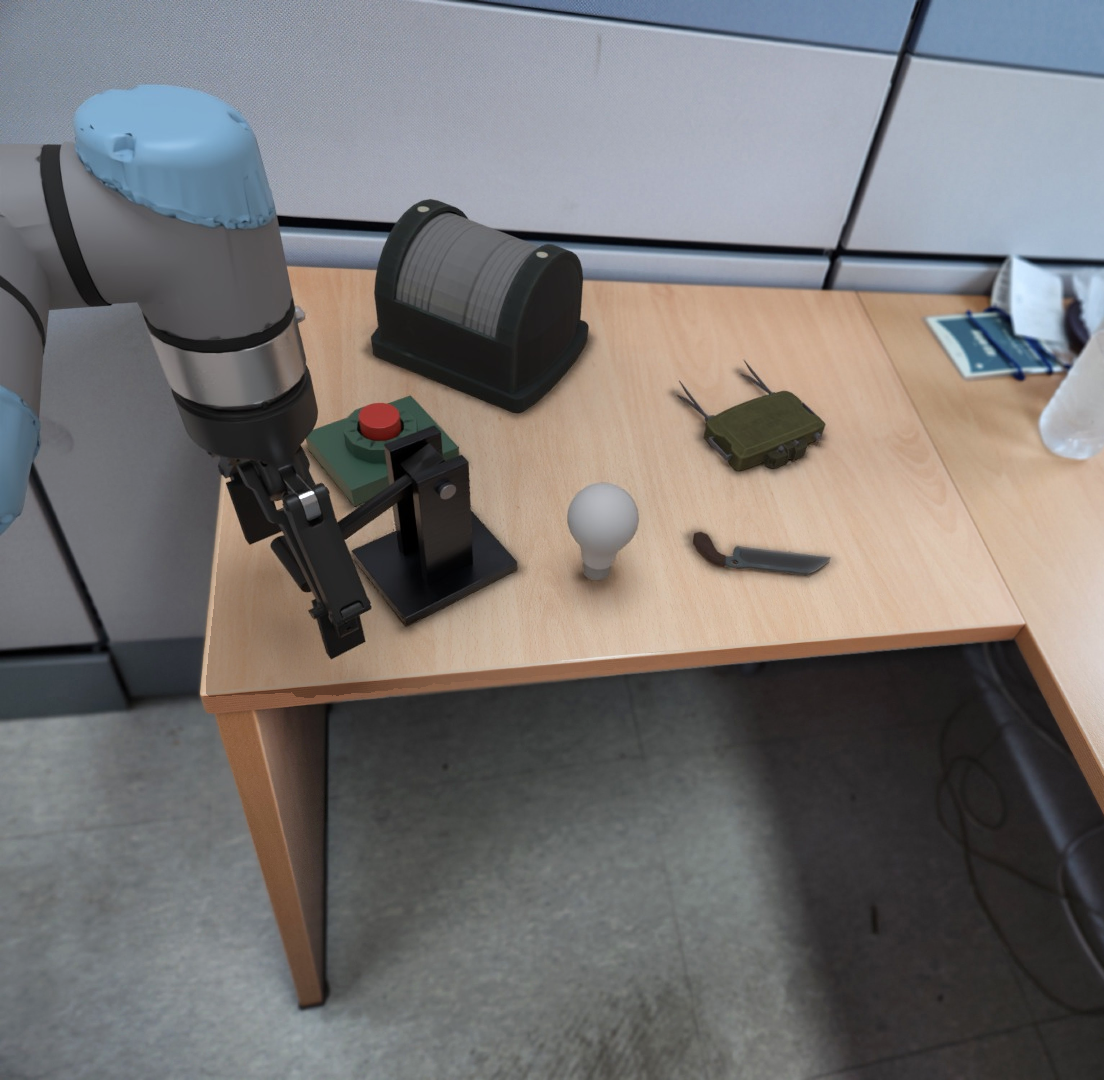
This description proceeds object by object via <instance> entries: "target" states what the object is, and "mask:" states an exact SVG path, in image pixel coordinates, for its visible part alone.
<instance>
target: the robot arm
mask: <svg viewBox="0 0 1104 1080" xmlns="http://www.w3.org/2000/svg"><path fill="white" fill-rule="evenodd" d="M72 125H73V126H72V127H73V131H74V135H75V138H74V141H63V142H62V143H61V144H57V143H55V144H54V143H52V144H51V143H50V144H49V143H47V144H45V143H43V144H42V143H0V536H1V535H3V534H4V533H5V532H6V531H7V530H8V529H9V528H10V527H11V525H12V524H13V523H14V522H15V521H16V520H17V518H19V517H20V516H21V514H22V513H23V510H24V507H25V503H26V495H27V491H28V485H29V480H30V474H31V469H32V464H33V463H34V462H35V460H36V458H37V456H38V453H39V451H40V448H41V445H42V439H41V435H40V434H41V433H40V432H41V421H40V411H41V397H42V381H43V368H44V367H43V365H44V356H45V349H46V344H47V336H48V327H49V326H48V325H49V315H50V311H56V310H57V311H58V310H59V311H60V310H70V309H71V310H72V309H83V308H99V307H112V305H120V304H121V305H122V304H133V303H134V304H135V303H137V305H138V306H139V307H138V308H139V309H140V310H141V314H142V317H143V322H144V326H145V329H146V331H147V334H148V336H149V339H150V342H151V345H152V347H153V350H154V353H155V355H156V357H157V359H158V363H159V365H160V369H161V370H162V372H163V375H164V378H165V381H166V383H167V385H168V386H169V387H170V390H171V394H172V396H173V400H174V402H175V405H176V407H177V410H178V411H177V412H178V413H179V416H180V418H181V421H182V424H183V426H184V429H185V431H186V433H187V435H188V437H189V438H190V439H191V440H192V442H193V443H195V445H196V446H198V447H199V448H201V450H202V449H203V450H204V451H205V452H206V453H207V455H209V456H210V457H211V458H212V459H215V458H218V457H219V458H220V459H219V461H218V463H217V468H218V472H219V474H220V476H223V478H224V479H230V480H229V481H226V482H225V485H226V488H227V492H228V494H229V496H230V497H229V498H230V500H231V502H232V505H233V508H234V512H235V514H236V517H237V519H238V523H239V525H240V528H241V531H242V533H243V536H244V539H245V541H246V543H248V545H249V546H251V545H254V544H255V543H258V542H260V541H264V540H265V539H268V538H270V537H273V536H274V535H277V534H280V533H282V535H284V536H285V538H286V540H287V542H288V544H289V546H290V548H291V550H292V552H293V554H294V556H295V558H296V560H297V563H298V565H299V567H300V569H301V571H302V573H303V575H304V577H305V579H306V581H307V583H308V585H309V587H310V589H311V591H312V592H311V593H312V595H313V597H314V598H313V599H311V601H310V602H311V606H312V608H309V609H308V610H307V611H308V614H309V616H311V617H310V618H312V620H316V622H317V626H318V629H319V633H320V636H321V640H322V643H323V648H324V650H325V654H326V655H327V656H328V658H329V659H330V660H333V659H336V658H337V657H339V656H341V655H343V654H346V653H347V652H349V651H350V650H353V649H354V648H357V647H359V646H361V645H363V644H365V643H366V637H365V633H364V628H363V624H362V619H361V615H364V614H365V613H367V612H369V611H371V610H372V605H371V604H372V602H371V600H370V598H369V597H368V594H367V592H366V589H365V587H364V585H363V583H362V580H361V577H360V575H359V572H358V570H357V567H356V565H355V561H354V559H353V556H352V555H351V553H350V550H349V547H348V545H347V543H346V540H344V537H343V535H342V532H341V530H340V527H339V525H338V520H337V518H336V515H335V511H334V510H335V509H334V507H333V503H332V499H331V495H330V490H329V488H328V487H327V486H325V484H324V483H323V482H318V483H315V482H316V481H315V480H314V478H313V476H312V474H311V472H310V468H311V467H310V466H311V464H310V461H309V459H308V456H307V453H306V452H305V449H304V448H303V446H302V444H303V443H304V442H305V441H306V438H307V437H308V435H309V434H310V433H311V432H312V430H314V429H315V426H316V425H317V422H318V418H319V408H318V403H317V398H316V393H315V389H314V383H313V381H312V376H311V371H310V369H309V367H308V365H307V356H306V351H305V348H304V347H305V346H304V343H303V338H302V335H301V331H300V327H299V324H300V323H302V322H304V321H305V320H306V312H305V310H303V309H302V308H301V306H299V305H295V301H294V296H293V290H292V286H291V285H292V284H291V280H290V276H289V270H288V266H287V265H288V264H287V261H286V260H287V259H286V256H285V255H286V254H285V249H284V245H283V240H282V234H281V229H280V224H279V220H278V215H277V210H276V205H275V201H274V200H275V199H274V197H273V191H272V189H271V187H270V184H269V179H268V177H267V173H266V169H265V165H264V162H263V157H262V155H261V151H260V146H259V144H258V140H257V136H256V134H255V133H254V131H253V128H252V127H251V125H250V123H249V122H248V120H247V119H246V118H245V116H244V115H243V114H242V113H241V112H240V111H239V110H237V109H236V108H235V107H234V106H233V105H231V104H229V103H228V102H226V101H225V100H223V99H222V98H219V97H217V96H215V95H212V94H210V93H208V92H205V91H201V90H198V89H195V88H189V87H185V86H178V85H171V84H162V83H161V84H156V83H155V84H154V83H151V84H148V83H147V84H146V83H145V84H137V85H136V86H135V87H134V88H129V89H118V88H110V89H107V90H104V91H100V92H99V93H97V94H94V95H93V96H90V97H89V98H87V99H85V101H83V102H82V104H80V105H79V107H77V109H76V111H75V113H74V116H73V120H72ZM279 501H282V504H281V505H282V507H281V508H279V509H278V508H277V506H276V502H279Z"/></svg>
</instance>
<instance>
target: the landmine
mask: <svg viewBox="0 0 1104 1080" xmlns="http://www.w3.org/2000/svg"><path fill="white" fill-rule="evenodd" d="M743 362H744V364H745V365H746V367H747V369H748V371H749V372H750V373H751V375H752V376H753V377H754V378H753V377H752V376H750V375H747V374H744V373H740V374H741V375H742V376H743V377H744V378H746V379H747V380H749V381H750V382H752V383H753V384H754V385H756V386H757V387H759V388H760V389H761V390H763V391H764V392H766V393H767V394H764V395H761V396H758V397H755V398H753V399H750V400H747V401H743V402H741V403H739V404H736V405H733V406H732V407H730V408H727V409H724V410H723V411H721V412H719V413H717V414H715V415H714V414H712V415H708V413H706V412H705V411H704V409H702V407H701V406H700V404H699V403H698V402H697V400H696V399H695V398H694V396H692V394H691V393H690V391H689V390H688V389H687V387H686V386H685V385H684V383H683V382H681V380H678V382H679V384H680V385H681V387H682V389H683V391H684V393H685V394H686V395H687V397H688V398H687V397H685V396H682V395H680V394H677V396H678V397H679V398H680V399H681V400H682V401H683V402H685V403H687V405H689V406H690V407H691V408H693V410H695V411H696V412H698V413H699V414H700V415H701V416H703V417H704V421H705V422H706V425H705V427H704V432H703V437H704V439H705V440H706V442H708V444H709V445H710V446H711V447H712V448H713V449H714V450H715V451H716V452H717V453H718V454H719V455H720V456H721V457H722V458H723V459H724V461H728V463H729V464H730V465H731V467H733V469H734V470H735V471H738V472H739V471H744V470H747V469H749V468H752V467H755V466H757V465H760V464H762V463H763V465H765V466H766V467H767V468H770V469H776V468H779V467H782V466H783V465H785V466H786V465H787V464H788V461H789V460H791V462H795V460H798V459H800V458H802V457H804V456H805V454H806V451H807V448H808V444H810V443H813V442H814V441H819V440H820V439H821V438H822V435H823V433H824V430H825V427H826V422H825V421H824V420H822V418H821V417H820V416H819V415H818V414H817V413H816V412H815V411H814V410H812V409H811V408H810V407H809V405H807V404H806V403H805V402H804V401H803V400H802V399H800V398H799V397H798V396H797V395H796V394H794V393H793V392H791V391H789V390H780V391H776V392H775V391H772V390H771V389H770V388H769V387H768V386H767V385H766V384H765V382H764V381H763V380H762V378H760V376H759V375H758V374H757V373H756V372H755V371H754V369H753V368H752V367H751V365H749V363H748V362H747V361H746V360H745V359H743Z"/></svg>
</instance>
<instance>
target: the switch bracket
mask: <svg viewBox="0 0 1104 1080" xmlns="http://www.w3.org/2000/svg"><path fill="white" fill-rule="evenodd" d="M428 443H430V444H431V445H432V446H433V447H434V448H435V449H436V450H437V451H438V452H439V454H440V455H441V456H442V457H443V451H442V437H441V431H440V430H439V429H438V428H437V427H436V426H435V425H433V426H431V427H428V428H425V429H423V430H420V431H418V432H415V433H412V434H410V435H407V436H404V437H402V438H399V439H396V440H394V441H391V442H389V443H386V444H384V450H385V457H386V464H387V471H388V478H389V485H391V484H392V483H394V482H395V481H396V480H398V479H399V478H401V477H402V476H403V475H405V474H406V473H407V472H406V471H405V470H404V468H403V467H402V466H401V464H400V463H401V462H403V461H404V460H406V459H407V458H409V457H410V456H411V455H413V454H414V453H416V452H417V451H419V450H420V449H421V448H423V447H424V446H426V445H427V444H428ZM469 463H470V462H469V461H468V460H467V458H466V457H465V456H464V455H463V454H459V456H457V457H455V458H452V459H450V460H447V461H445V462H442V463H440V464H438V465H435V466H433V467H430V468H428V469H425V470H423V471H420V472H418V473H416V474H413V475H411V482H412V490H413V492H411V493H410V494H409V495H407V496H406V497H404V498H403V499H402V500H400V501H399V502H397V503H396V504H395V505H393V506H392V513H393V519H394V527H395V530H394V531H392V532H390V533H387V534H385V535H383V536H380V537H379V538H376V539H373V540H371V541H369V542H367V543H364V544H363V545H360V546H358V547H356V548H353V549H352V550H351V554H352V560H353V561H354V562H355V563H356V564H357V565H358V567H359V568H360V569H361V570H362V572H363V573H364V574H365V576H366V577H367V578H368V580H369V581H370V582H371V583H372V584H373V586H374V587H375V588H376V590H377V591H378V593H379V594H380V595H381V596H382V598H383V599H384V600H385V601H386V603H387V604H388V606H390V608H391V609H392V611H393V612H394V613H395V614H396V616H397V617H398V618H399V619H400V620H401V622H402V624H404V626H405V627H409V626H411V625H413V624H414V623H417V622H419V621H420V620H423V619H424V618H426V617H428V616H430V615H432V614H434V613H436V612H438V611H440V610H442V609H445V608H446V607H448V606H450V605H452V604H454V603H456V602H457V601H460V600H462V599H463V598H465V597H468V596H469V595H471V594H473V593H475V592H477V591H479V590H481V589H483V588H484V587H486V586H489V585H491V584H493V583H495V582H496V581H498V580H500V579H502V578H505V577H506V576H508V575H509V574H512V573H514V572H516V571H517V570H518V561H517V560H516V558H515V557H514V556H513V555H512V554H511V553H510V552H509V551H508V550H507V549H506V547H505V546H504V545H503V544H502V543H501V542H500V541H499V540H498V538H497V537H496V536H495V535H494V534H493V533H492V531H490V530H489V528H488V527H487V526H486V525H485V524H484V523H483V522H482V521H481V519H480V518H479V517H478V516H477V514H475V513H474V512H473V510H472V508H471V507H472V506H471V504H472V503H471V486H470V485H471V484H470V483H471V482H470V464H469Z"/></svg>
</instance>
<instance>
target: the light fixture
mask: <svg viewBox="0 0 1104 1080" xmlns="http://www.w3.org/2000/svg"><path fill="white" fill-rule="evenodd" d="M399 217H400V218H399V219H397V221H396V222H395V223H394V226H393V227H392V228H391V231H390V232H389V234H388V235H387V238H386V239H385V240H386V241H385V243H384V245H383V247H382V250H381V252H380V256H379V260H378V263H377V266H376V271H375V272H376V273H375V278H374V289H373V290H374V291H373V294H374V295H373V296H374V303H375V304H374V305H375V312H376V313H375V314H376V319H377V320H376V321H377V328H376V329H375V330H374V331H373V333H372V334H371V335H370V342H371V349H372V350H371V351H372V355H373V356H374V357H376V358H378V359H380V360H383V361H386V362H388V363H391V364H393V365H395V366H398V367H401V368H403V369H405V370H408V371H410V372H412V373H415V374H417V375H419V376H422V377H425V378H428V379H430V380H432V381H435V382H437V383H439V384H442V385H444V386H447V387H449V388H451V389H454V390H457V391H459V392H461V393H464V394H467V395H469V396H471V397H474V398H477V399H479V400H481V401H484V402H485V403H486V402H487V403H489V404H492V405H494V406H497V407H499V408H501V409H503V410H506V411H509V412H512V413H516V414H520V413H523V412H525V411H526V410H528V409H529V408H531V407H532V406H534V405H535V404H536V403H538V401H540V400H541V399H542V398H543V397H544V396H546V395H547V394H548V393H549V392H550V391H551V390H552V389H553V388H554V387H555V386H556V384H558V382H559V381H561V379H562V378H564V376H565V375H566V373H567V372H568V371H569V370H570V369H571V367H572V366H573V365H574V364H575V362H576V361H577V360H578V358H579V357H580V355H581V354H582V352H583V350H584V349H585V346H586V345H587V342H588V339H589V338H588V337H589V327H590V326H589V323H588V322H586V321H584V320H583V319H581V318H582V317H581V316H582V300H583V288H584V287H583V286H584V272H583V271H584V270H583V267H582V263H581V260H580V258H579V256H578V255H577V254H576V253H575V252H573V251H572V250H569V249H567V248H564V247H562V246H558V245H556V244H551V243H546V244H543V245H540V246H539V245H537V244H534V243H531V242H529V241H526V240H524V239H521V238H519V237H516V236H513V235H510V234H508V233H506V232H503V231H500V230H497V229H495V228H492V227H489V226H488V225H484V224H482V223H479V222H476V221H474V220H472V219H469V217H468V216H467V215H466V214H465V212H464V211H462V209H459V207H456V206H454V205H451V204H448V203H446V202H444V201H441V200H437V199H432V198H429V199H422V200H420V201H418V202H416V203H413V204H412V206H410V207H409V208H408V209H407V210H406V211H404V212H403V213H402V215H401V216H399Z"/></svg>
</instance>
